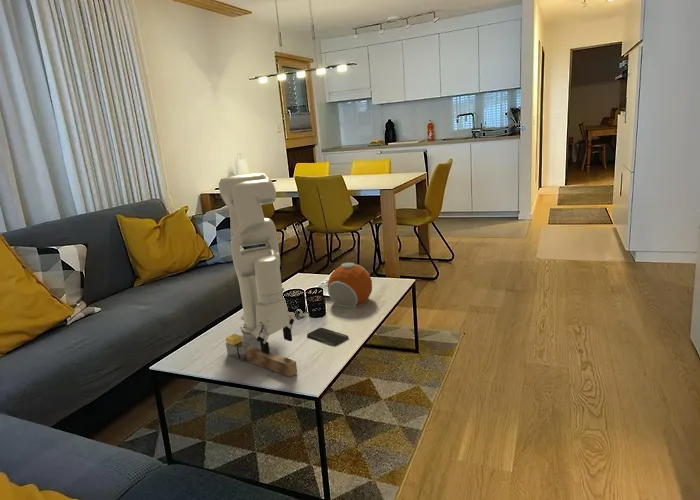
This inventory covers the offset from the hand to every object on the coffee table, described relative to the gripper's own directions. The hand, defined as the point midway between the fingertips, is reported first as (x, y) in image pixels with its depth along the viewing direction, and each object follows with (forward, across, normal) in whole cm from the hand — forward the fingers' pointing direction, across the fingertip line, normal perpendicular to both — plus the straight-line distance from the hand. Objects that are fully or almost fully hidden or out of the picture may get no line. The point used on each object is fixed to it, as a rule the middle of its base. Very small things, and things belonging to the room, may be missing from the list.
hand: (277, 346), depth 149 cm
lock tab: (+4, +1, -22) cm, 22 cm away
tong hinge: (+9, +1, -19) cm, 21 cm away
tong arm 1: (+8, +2, -3) cm, 9 cm away
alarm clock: (+10, -57, -16) cm, 60 cm away
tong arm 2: (+8, 0, -3) cm, 8 cm away
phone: (+9, -25, -2) cm, 27 cm away
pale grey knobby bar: (+11, -40, -35) cm, 54 cm away
